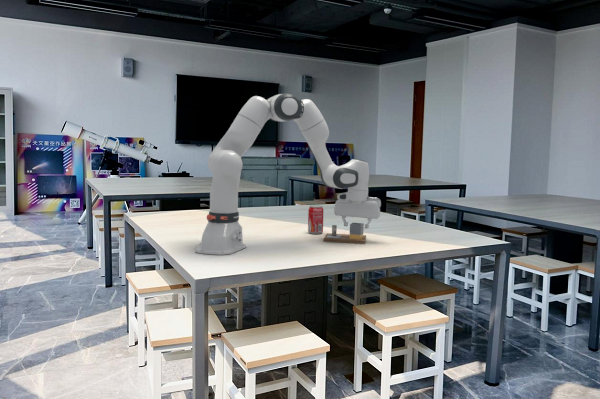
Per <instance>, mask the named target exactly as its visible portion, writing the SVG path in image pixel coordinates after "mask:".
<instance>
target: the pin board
mask: <svg viewBox="0 0 600 399" xmlns="http://www.w3.org/2000/svg"><path fill="white" fill-rule="evenodd" d="M337 228H338V225H336V224H332V225H331V232H330V233H329V232H327V233H326V234H325V235H324V236H323V240H322V241H323V242H325V243H343V244H357V245H358V244H360V245H366V239H367V235H365V234H363V237H362V238H361V239H360V238H349V237H350V233H349V234H347V233H346V234H345V233H337Z"/></svg>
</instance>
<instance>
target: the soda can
mask: <svg viewBox="0 0 600 399" xmlns="http://www.w3.org/2000/svg"><path fill="white" fill-rule="evenodd" d="M307 214H308V215H307V217H308V218H307V232H308V233H309V234H311V235H321V234H323V232H324V207H323V205H319V204H317V205H316V204H315V205H309V208H308V212H307Z"/></svg>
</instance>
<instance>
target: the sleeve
mask: <svg viewBox="0 0 600 399" xmlns="http://www.w3.org/2000/svg"><path fill="white" fill-rule="evenodd" d="M364 229H365V223H363V222H350V224H349V235H350V237H349V238H360V239H361V238H362V237H363V235H364Z"/></svg>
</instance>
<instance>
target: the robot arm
mask: <svg viewBox="0 0 600 399" xmlns="http://www.w3.org/2000/svg"><path fill="white" fill-rule="evenodd" d="M269 120H270V121H272V122H281V123H282V122H287V121H292V120H293V122H295V124H296V125H297V126H298V128H299V130H300V133H301V134H302V136H303V138H304V140H305V141H306V142H307V144H308V146H309V148H310V151H311V152H312V156H313V157H314V159H315V162H316V163H317V166H318V168H319V171H320V172H319V173H320V180H321V182H322V184H323V185H325V187H327V188H334V189H340V190H342V189H347V191H345V192H342V193H339V194H337V196H336V198H337V200H336V201H335V203H334V207H333V208H334V211H333V214H334V215H335V216H338V217H339V216H340V217H341V219H342V222H343V226H344V227H349V221H347V220H346V218H347V217H350V218H361V219H362V218H363V219H367V223H364V229H369V227H370V224H371V222H372V220H373V219H374V220H378V219H379V218H381V207H382V202H381V201H382V200H381V199H380V198H378V197H372V196H369V187H368V186H369V185H368V184H369V180H370V167H369V163H368V162H367V161H366V160H362V159H359V158H358V159H357V158H352V159H351V160H349V161H348V162H347V163H345V164H342V165H336V164H335V163H334V162H333V161H332V160H333V159H332V158H331V156H330V154H329V152H328V150H327V146H326V142H327V141H328V140H329V139H328V138H329V135H330V130H329V126H328V123H327V121H326V119H325V118H324V116H323V114H322V112H321V111H320V109H319V108H318V106H317V105H316V104H315V103H314V102H313V100H311V99H309V98H304V99H299V98H298V97H297V96H295V95H294V94H291V93H288V92H287V93H286V92H285V93H278V94H275V95H273V96H271V97H269V98H267V99H265V97H262V96H258V95H254V96H252V97H250V98H249V99H248V100H247V102H246V103H245V104H244V105H243V106H242V107H241V109H240V111H239V112H238V113H237V115H236V117H235V118H234V119H233V122H232V123H231V124H230V127H229V128H228V130H227V131H226V132H225V134H224V135H223V136H222V138H220V140H219V142H218V143H217V145H216V146H215V147H214V148H213V149H212V151H211V153H210V154H209V156H208V157H207V166H208V169H209V171H210V172H211V173H212V179H211V187H210V191H209V212H208V214H207V215H206V220H207V224H206V226H205V227H204V230H203V232H202V236H201V242H200V244H199V245H198V246H197V247H196V249H195V253H196V254H197V253H198V254H204V255H220V256H222V255H232V254H233V253H236V252H238V251H241V250H243V249H246V248H247V244H246V243H243V238H244V237H243V226H242V225H241V224H240V223H239V219H240V218H239V217H240V212H239V209H238V208H239V187H240V182H241V175H242V170H243V165H244V164H243V161H242V157H243V156H244V154H245V153H247V151H248V150H249V149H250V148H251V147H252V146H253V144H254V142H255V141H256V139H257V137H258V135H259V134H260V133H261V130H263V128H264V126H265V124H266V123H267V121H269Z"/></svg>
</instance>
